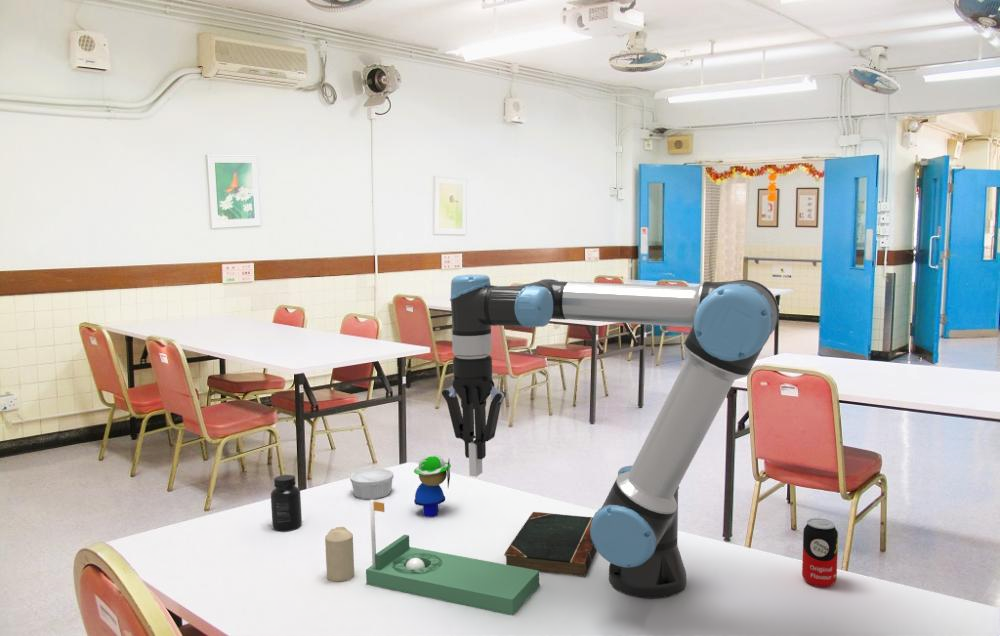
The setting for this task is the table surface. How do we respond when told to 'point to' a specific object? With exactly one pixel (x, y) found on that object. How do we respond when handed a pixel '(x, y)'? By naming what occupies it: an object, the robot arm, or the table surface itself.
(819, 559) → the beverage can
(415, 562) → the ball
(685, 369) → the robot arm
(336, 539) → the candle
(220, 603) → the table surface
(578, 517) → the book
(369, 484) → the ramekin
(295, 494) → the supplement bottle
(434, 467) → the toy
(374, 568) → the green
